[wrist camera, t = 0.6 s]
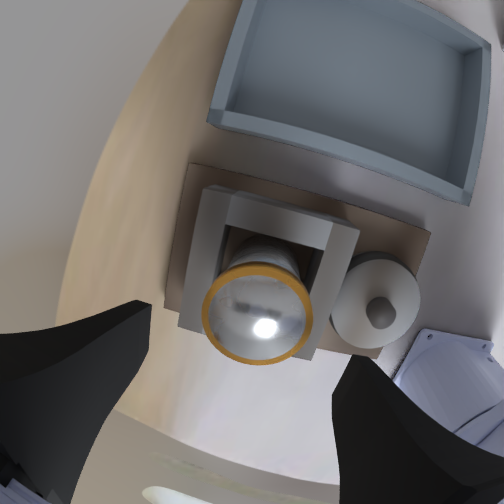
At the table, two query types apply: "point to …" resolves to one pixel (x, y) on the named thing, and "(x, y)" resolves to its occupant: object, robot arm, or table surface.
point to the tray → (361, 87)
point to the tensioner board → (300, 257)
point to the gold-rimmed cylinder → (259, 304)
